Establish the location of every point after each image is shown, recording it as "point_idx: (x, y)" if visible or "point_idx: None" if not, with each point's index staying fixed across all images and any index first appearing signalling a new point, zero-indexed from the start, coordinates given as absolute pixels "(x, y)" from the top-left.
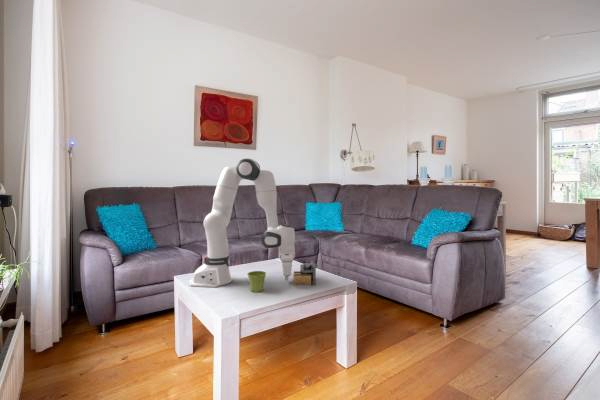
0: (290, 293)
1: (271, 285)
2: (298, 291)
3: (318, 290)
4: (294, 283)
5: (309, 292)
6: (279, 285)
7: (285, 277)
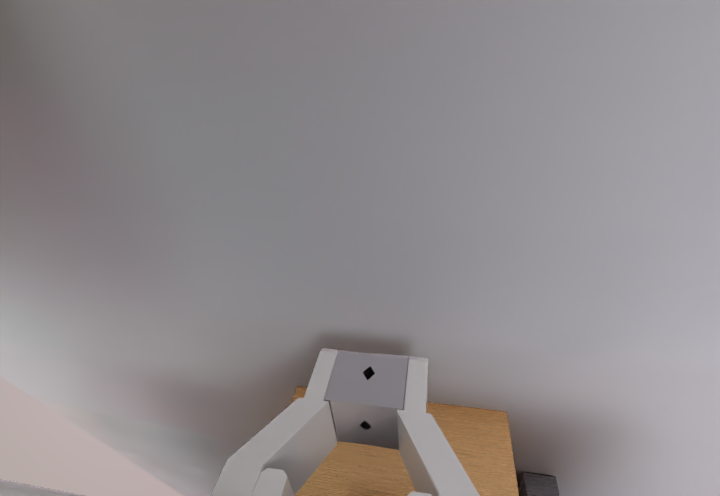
0: (4, 317)
1: (186, 49)
2: (97, 383)
3: (183, 488)
4: (291, 402)
5: (115, 440)
6: (226, 212)
7: (309, 391)
